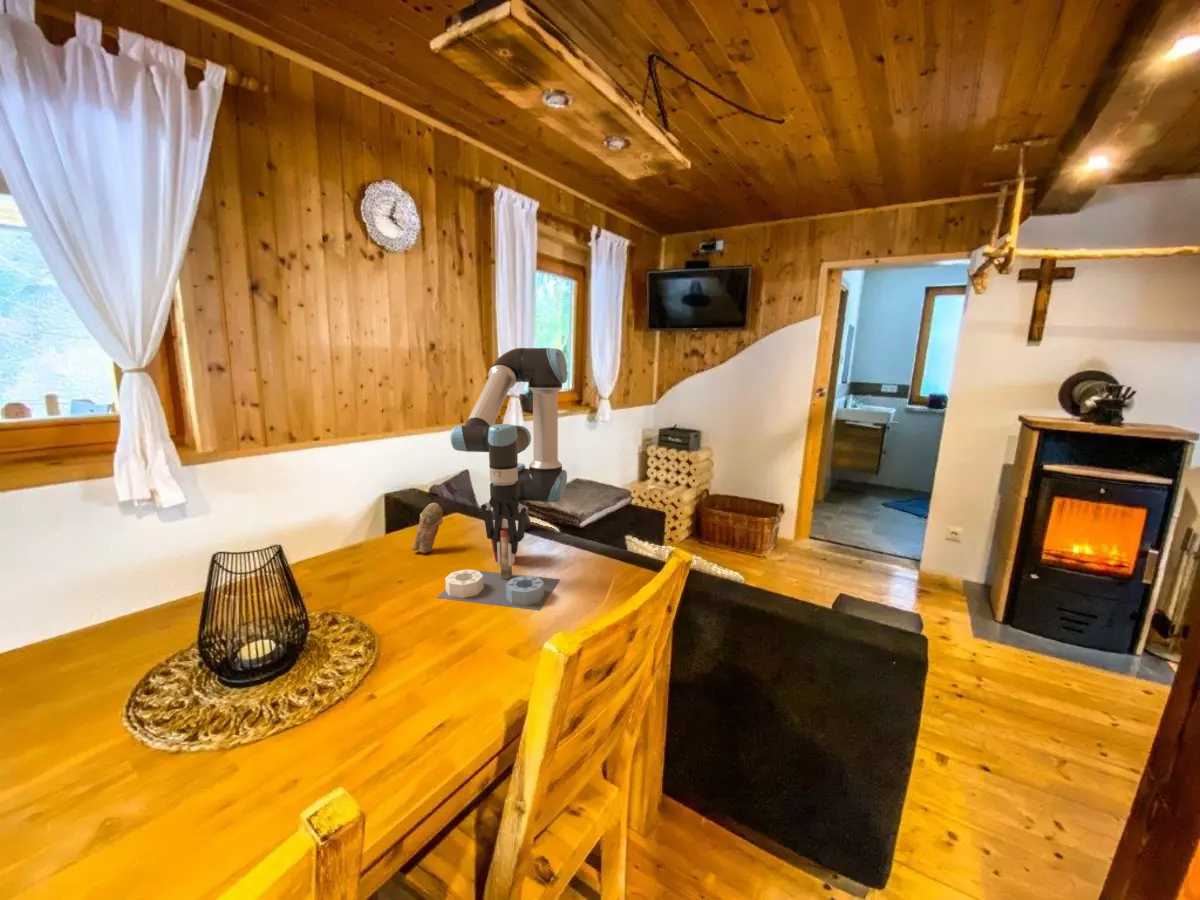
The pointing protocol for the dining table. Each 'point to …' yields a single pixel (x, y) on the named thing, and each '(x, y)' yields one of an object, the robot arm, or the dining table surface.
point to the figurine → (428, 528)
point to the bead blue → (525, 590)
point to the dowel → (505, 553)
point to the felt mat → (502, 591)
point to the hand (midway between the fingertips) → (506, 563)
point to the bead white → (464, 583)
